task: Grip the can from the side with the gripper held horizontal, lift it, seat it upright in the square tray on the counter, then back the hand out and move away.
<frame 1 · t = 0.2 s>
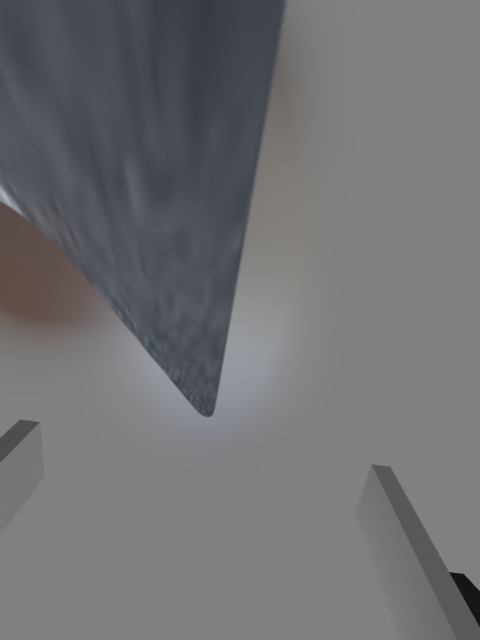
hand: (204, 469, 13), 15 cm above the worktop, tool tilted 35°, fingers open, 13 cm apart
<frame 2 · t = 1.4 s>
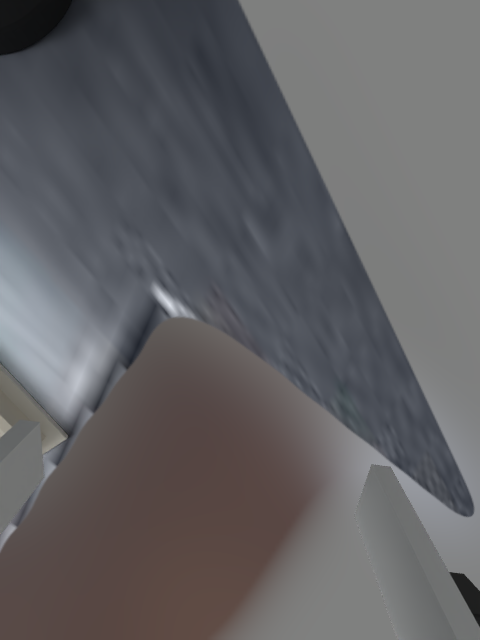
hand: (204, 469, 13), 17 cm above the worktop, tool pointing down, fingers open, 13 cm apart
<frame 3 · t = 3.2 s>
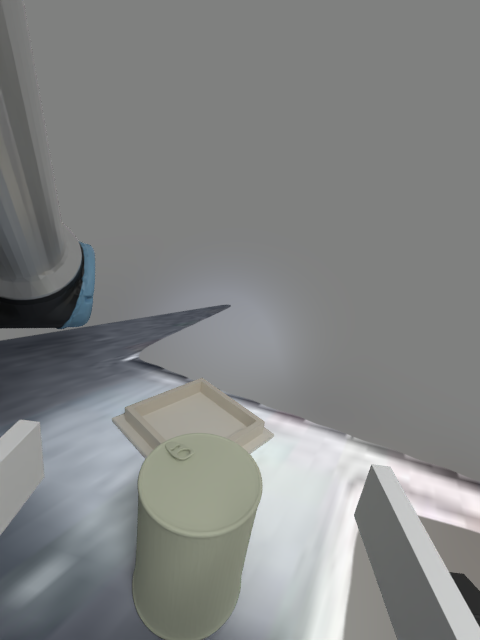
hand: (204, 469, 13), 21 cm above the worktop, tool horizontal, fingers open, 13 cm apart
square tray: (194, 429, 45), on the worktop
can: (188, 576, 28), on the worktop
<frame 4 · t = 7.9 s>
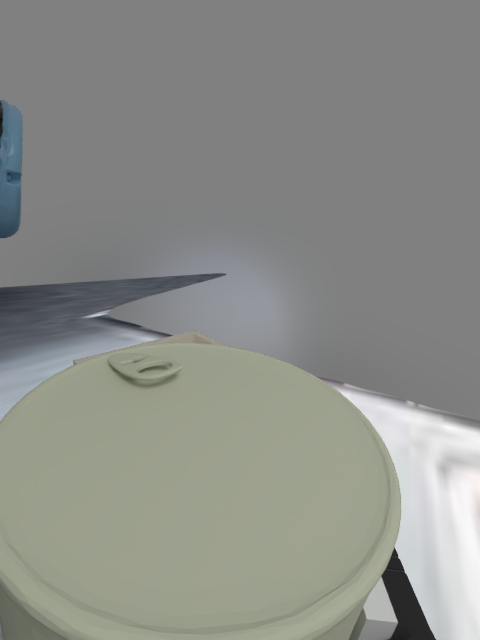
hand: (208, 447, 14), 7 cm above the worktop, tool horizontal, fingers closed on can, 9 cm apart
square tray: (185, 395, 29), on the worktop
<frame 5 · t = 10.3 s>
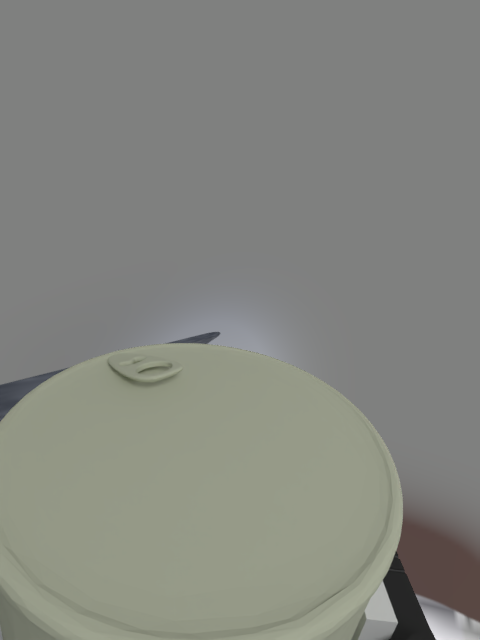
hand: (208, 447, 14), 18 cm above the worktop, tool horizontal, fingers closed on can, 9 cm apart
when the fingers open (8 cm above the worktop, at t = 13.0 s): can drops 1 cm, resting on square tray.
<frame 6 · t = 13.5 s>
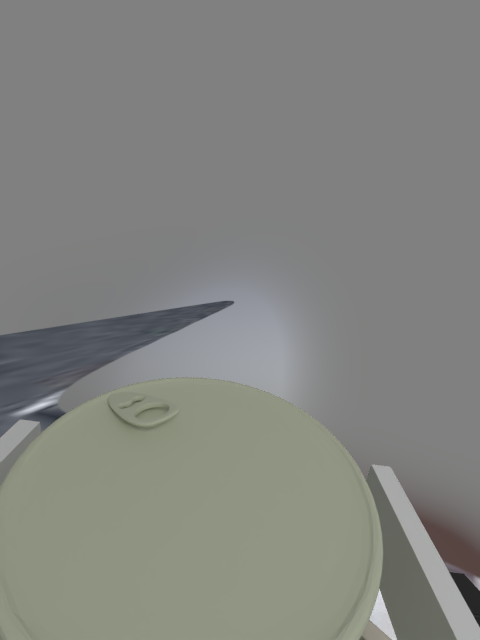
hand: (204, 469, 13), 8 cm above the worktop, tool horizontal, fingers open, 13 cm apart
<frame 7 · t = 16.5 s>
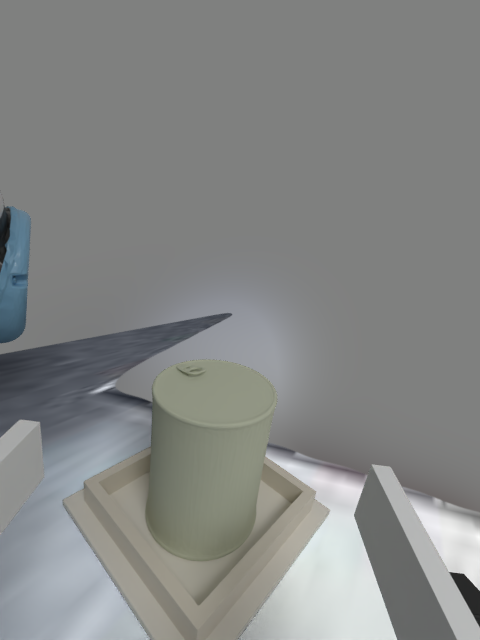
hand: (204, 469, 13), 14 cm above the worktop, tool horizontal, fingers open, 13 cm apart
square tray: (201, 509, 27), on the worktop
can: (201, 507, 27), resting on square tray
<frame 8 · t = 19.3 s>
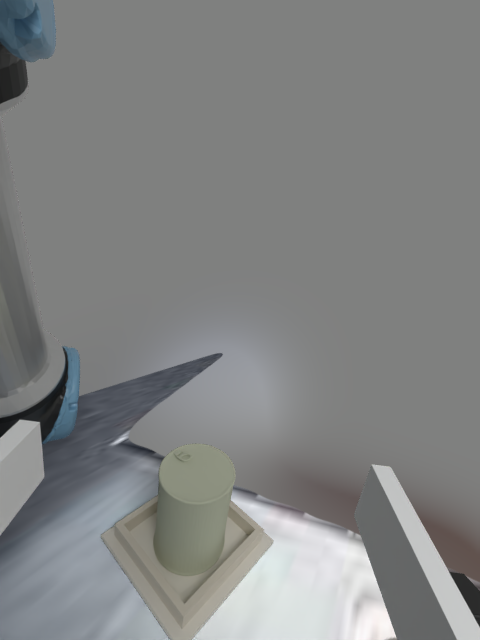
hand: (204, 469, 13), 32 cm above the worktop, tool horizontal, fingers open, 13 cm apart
square tray: (189, 540, 42), on the worktop
can: (189, 539, 42), resting on square tray
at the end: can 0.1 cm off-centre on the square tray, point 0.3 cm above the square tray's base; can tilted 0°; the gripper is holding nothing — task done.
